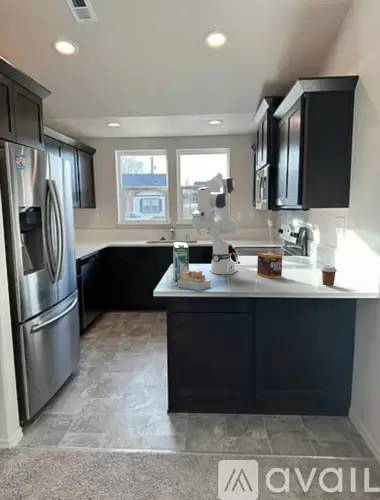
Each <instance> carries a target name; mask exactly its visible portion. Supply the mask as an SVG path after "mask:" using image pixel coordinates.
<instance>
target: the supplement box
mask: <svg viewBox="0 0 380 500" xmlns="http://www.w3.org/2000/svg"><path fill="white" fill-rule="evenodd" d="M256 265H257V270H256V271H257V273H256V275H258V276H261V277H262V278H263V277H264V278H267V279H269V278H270V279H277V278H276V277H280V278H282V277H283V276H282V274H283V273H282V272H283V271H282V270H283V255H282V254H278V253H274V252H260V253H257V264H256Z"/></svg>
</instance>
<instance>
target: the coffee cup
mask: <svg viewBox="0 0 380 500" xmlns="http://www.w3.org/2000/svg"><path fill="white" fill-rule="evenodd" d="M320 271H321V273H322V274H321V276H322V286H323V285H326V286H333V285H335V279H336V273H337V271H338V269H337V268H336V266H334V265H324V266H323V265H322V268H320ZM326 286H325V287H326ZM333 287H334V286H333Z"/></svg>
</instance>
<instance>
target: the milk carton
mask: <svg viewBox="0 0 380 500" xmlns="http://www.w3.org/2000/svg"><path fill="white" fill-rule="evenodd" d="M189 248H190V247H189V245H188V243H187V242H184V241H183V242H182V241H181V242H172V253H173V254H172V261H173V262H172V267H173V269H172V270H173V280H174V281H175V282H178V280H180V276H181V272H182V271H187V270H190V265H189V264H190V263H189V261H190V249H189Z"/></svg>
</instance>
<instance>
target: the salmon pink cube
mask: <svg viewBox="0 0 380 500" xmlns="http://www.w3.org/2000/svg"><path fill="white" fill-rule="evenodd" d="M192 271H193V276H197V277H199V276H202V275H203V271H202V270H198V269H196V270H192Z"/></svg>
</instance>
